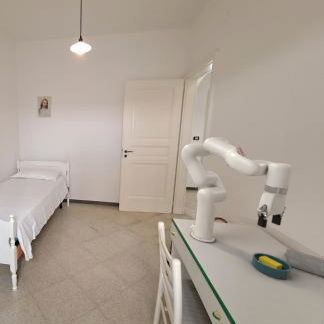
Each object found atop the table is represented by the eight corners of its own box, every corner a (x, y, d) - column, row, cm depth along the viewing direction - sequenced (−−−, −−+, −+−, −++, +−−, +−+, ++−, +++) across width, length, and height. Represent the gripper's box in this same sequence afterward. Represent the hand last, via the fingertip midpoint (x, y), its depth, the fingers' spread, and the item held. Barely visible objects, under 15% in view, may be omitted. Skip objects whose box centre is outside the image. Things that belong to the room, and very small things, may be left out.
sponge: (257, 264, 101) (259, 256, 100) (263, 263, 102) (264, 255, 101) (275, 273, 94) (276, 266, 93) (280, 272, 95) (282, 264, 94)
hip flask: (288, 266, 100) (355, 288, 87) (289, 259, 100) (358, 280, 86) (285, 253, 112) (344, 270, 98) (287, 246, 111) (346, 263, 98)
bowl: (244, 263, 102) (246, 255, 101) (263, 259, 106) (264, 251, 105) (277, 282, 89) (279, 273, 89) (296, 276, 93) (298, 267, 93)
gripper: (277, 186, 98) (271, 219, 101) (252, 188, 93) (246, 223, 96) (298, 191, 91) (291, 226, 94) (272, 193, 86) (265, 231, 89)
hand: (268, 225), depth 95 cm, fingers open, 9 cm apart
